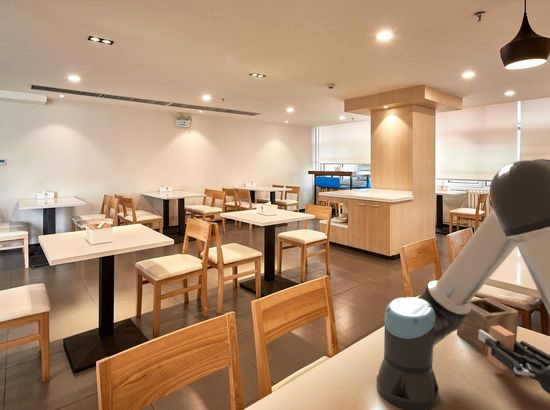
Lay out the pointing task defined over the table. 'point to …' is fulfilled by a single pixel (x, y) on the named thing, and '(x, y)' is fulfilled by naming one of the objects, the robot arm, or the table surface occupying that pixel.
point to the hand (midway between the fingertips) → (485, 333)
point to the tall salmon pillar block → (505, 340)
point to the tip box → (486, 321)
